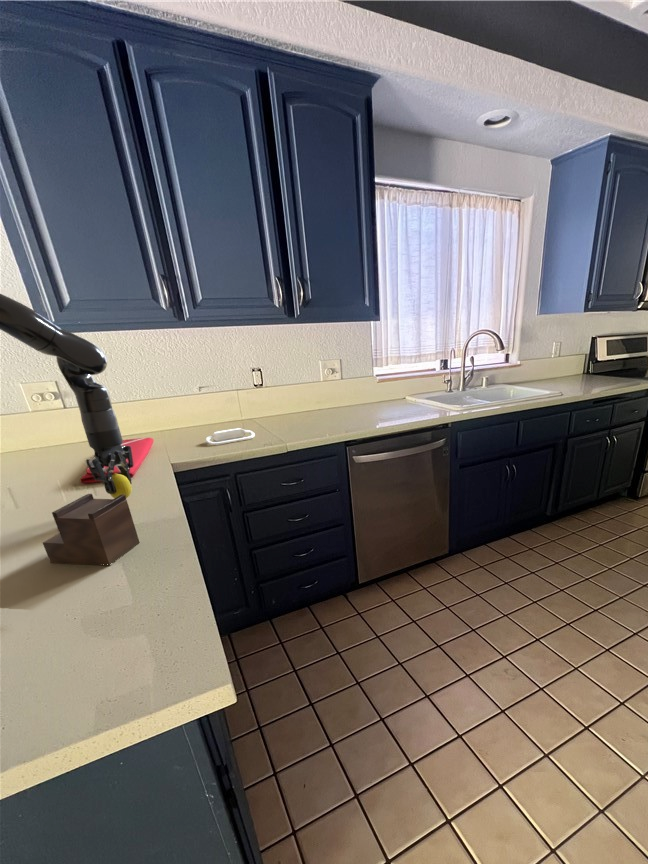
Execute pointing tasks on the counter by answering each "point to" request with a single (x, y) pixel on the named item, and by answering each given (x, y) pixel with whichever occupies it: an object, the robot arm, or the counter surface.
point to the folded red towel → (139, 453)
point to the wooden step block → (92, 531)
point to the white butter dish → (229, 436)
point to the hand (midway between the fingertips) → (119, 488)
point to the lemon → (121, 485)
